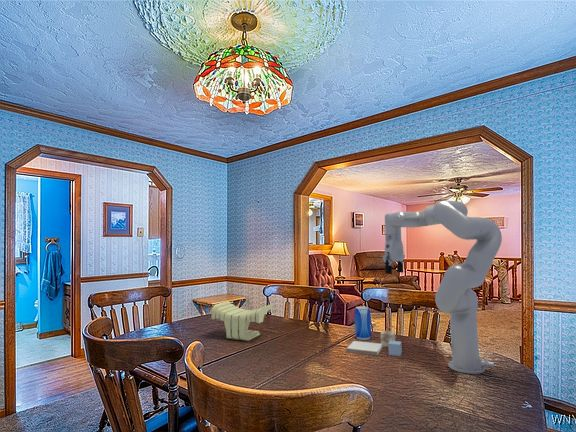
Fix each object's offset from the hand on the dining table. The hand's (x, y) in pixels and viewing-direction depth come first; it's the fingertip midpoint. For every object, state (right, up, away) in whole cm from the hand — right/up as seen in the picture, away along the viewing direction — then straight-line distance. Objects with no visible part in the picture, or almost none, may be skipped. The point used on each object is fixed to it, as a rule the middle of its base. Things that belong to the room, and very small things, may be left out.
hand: (394, 273), depth 162 cm
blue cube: (-4, -34, -13) cm, 37 cm away
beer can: (-13, -37, +12) cm, 41 cm away
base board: (-16, -35, -6) cm, 39 cm away
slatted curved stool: (-77, -39, +21) cm, 89 cm away
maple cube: (-3, -35, 0) cm, 36 cm away
